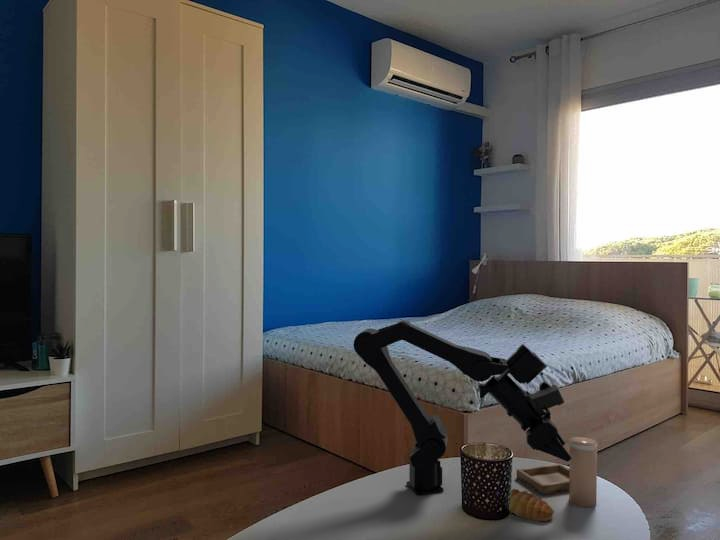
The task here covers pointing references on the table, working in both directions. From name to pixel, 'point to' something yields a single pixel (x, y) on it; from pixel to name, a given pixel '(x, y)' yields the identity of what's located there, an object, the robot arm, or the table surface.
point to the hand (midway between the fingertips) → (566, 452)
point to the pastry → (529, 506)
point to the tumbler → (583, 472)
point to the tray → (546, 478)
